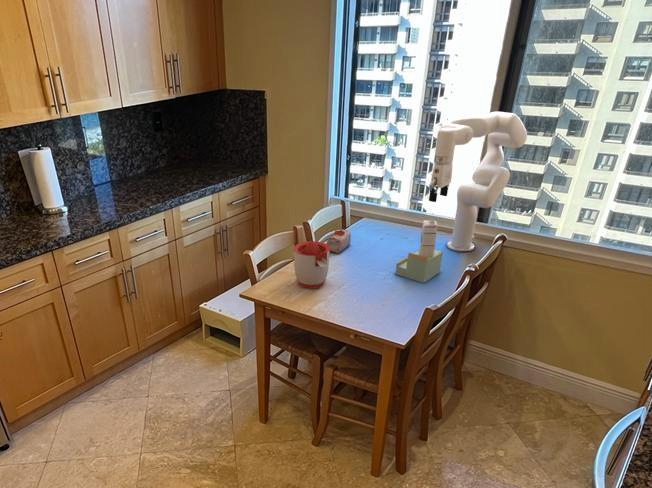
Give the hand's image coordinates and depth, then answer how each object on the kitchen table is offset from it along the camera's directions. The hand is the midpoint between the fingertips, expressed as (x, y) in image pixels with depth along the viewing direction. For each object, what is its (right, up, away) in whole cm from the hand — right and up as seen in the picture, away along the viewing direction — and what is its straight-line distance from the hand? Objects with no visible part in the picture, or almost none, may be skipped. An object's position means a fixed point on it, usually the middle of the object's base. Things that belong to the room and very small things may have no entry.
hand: (437, 198), depth 227 cm
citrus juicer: (-56, -38, +1) cm, 68 cm away
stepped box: (-8, -33, +5) cm, 34 cm away
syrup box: (-6, -25, -1) cm, 26 cm away
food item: (-38, -17, +33) cm, 53 cm away
